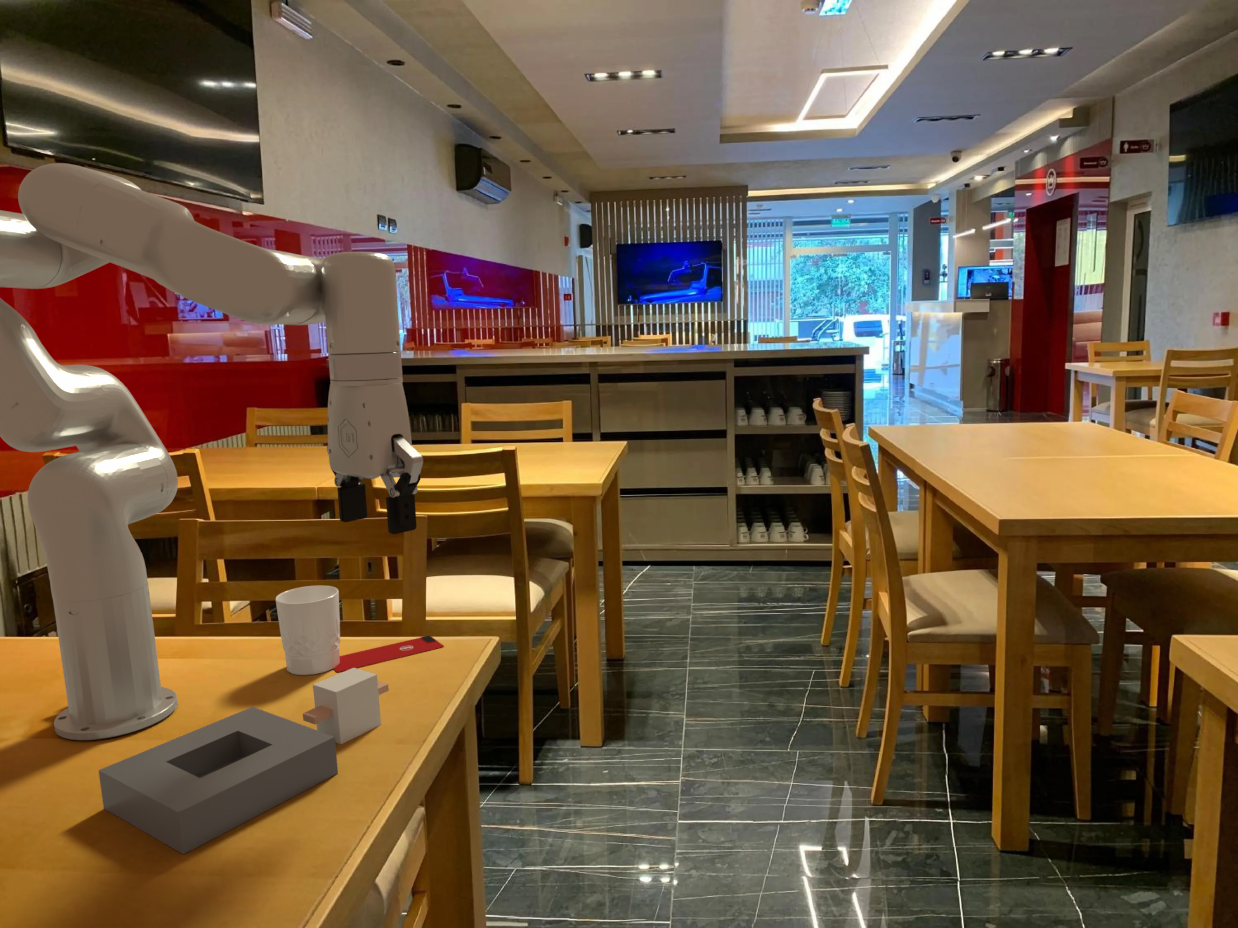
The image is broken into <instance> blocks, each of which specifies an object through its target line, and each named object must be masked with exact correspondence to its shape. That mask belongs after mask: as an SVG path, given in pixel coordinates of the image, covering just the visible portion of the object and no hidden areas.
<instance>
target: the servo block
mask: <svg viewBox="0 0 1238 928" xmlns="http://www.w3.org/2000/svg"><path fill="white" fill-rule="evenodd" d="M312 689H313V690H312V691H313V699H314V700H313V701H314V702H313V703H314V707H313V708H311V709H309V710H307V711H305V712H303V713H302V721H304V722H306V723H310V724H312V725H316V730H317V731H320V732H323V733H326V734H328V735H331V736H334V737H335V744H338V745H342V744H344V743H347V742H349V741H351V740H353V739H355V738H357V737H359V736H361V735H363V734H365V733H367V732H369V731H371V730H373V729H375V728H377V727H379V726H381V725H382V719H381V708H380V707H381V706H380V695H383V694H385V693H387V692H389V689H390V688H389V684H388V683H385V682H382V681H378V674H377V673H372V672H370V671H367V670H363V669H359V668H352V669H349V670H347V671H344V672H340V673H337V674H335V675H333V676H330V677H328V678H325V679H323V680H320V681H318V682H316V683H314V684H312Z"/></svg>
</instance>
